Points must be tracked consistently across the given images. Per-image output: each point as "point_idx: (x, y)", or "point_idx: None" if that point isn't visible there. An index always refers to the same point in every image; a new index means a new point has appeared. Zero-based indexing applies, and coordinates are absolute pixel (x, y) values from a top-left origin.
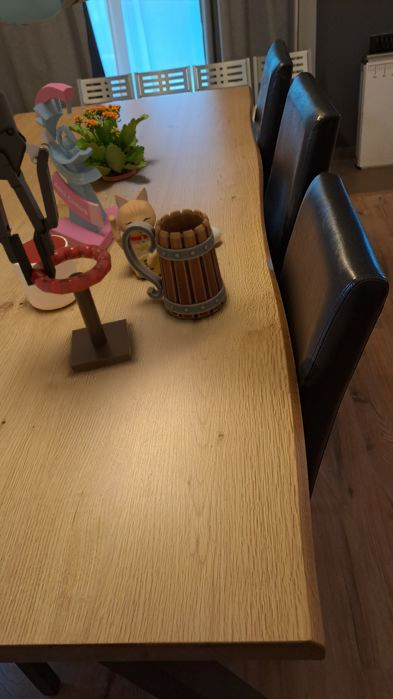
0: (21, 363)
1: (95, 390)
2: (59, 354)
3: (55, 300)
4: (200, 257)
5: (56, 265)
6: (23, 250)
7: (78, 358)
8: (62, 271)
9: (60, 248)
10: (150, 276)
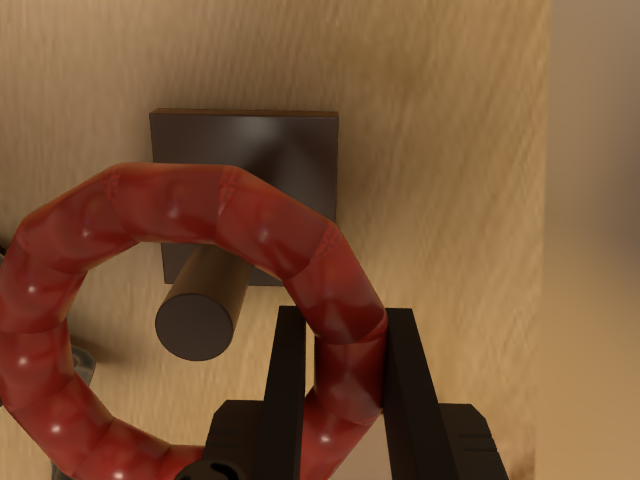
0: (495, 214)
1: (269, 8)
2: (379, 215)
3: (379, 430)
4: None
5: None
6: (397, 476)
7: (312, 145)
8: None
9: None
10: None
